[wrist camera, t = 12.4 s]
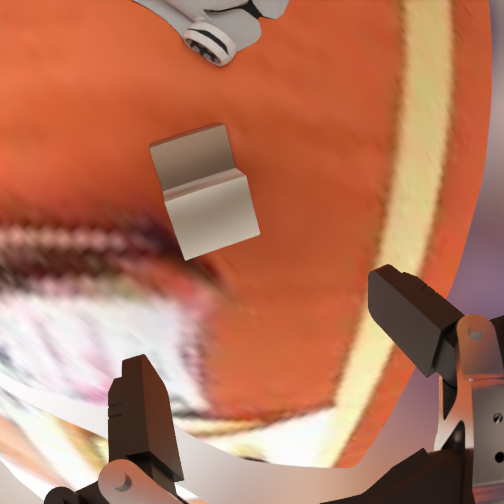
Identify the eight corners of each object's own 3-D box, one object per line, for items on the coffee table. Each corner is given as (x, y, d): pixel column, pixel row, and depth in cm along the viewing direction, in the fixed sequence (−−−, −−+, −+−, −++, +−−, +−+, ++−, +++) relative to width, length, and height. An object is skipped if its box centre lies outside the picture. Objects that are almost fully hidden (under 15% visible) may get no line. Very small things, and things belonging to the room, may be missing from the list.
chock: (240, 210, 25) (260, 234, 20) (178, 230, 24) (185, 260, 20) (217, 122, 21) (234, 127, 17) (149, 144, 20) (148, 153, 16)
